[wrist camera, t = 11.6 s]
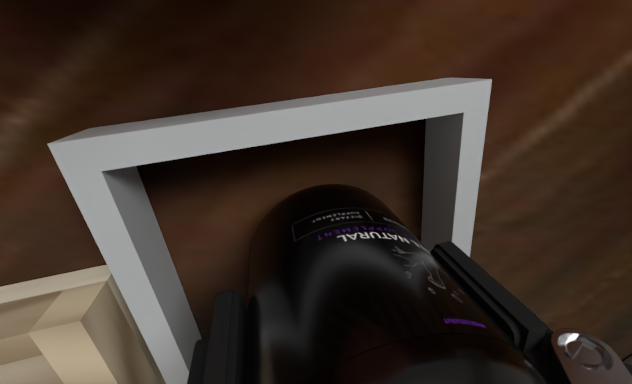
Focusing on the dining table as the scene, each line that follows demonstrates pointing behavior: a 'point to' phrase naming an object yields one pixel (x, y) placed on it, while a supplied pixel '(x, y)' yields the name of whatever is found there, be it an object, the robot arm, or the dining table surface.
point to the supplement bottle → (363, 302)
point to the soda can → (628, 360)
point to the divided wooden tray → (72, 333)
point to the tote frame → (249, 131)
